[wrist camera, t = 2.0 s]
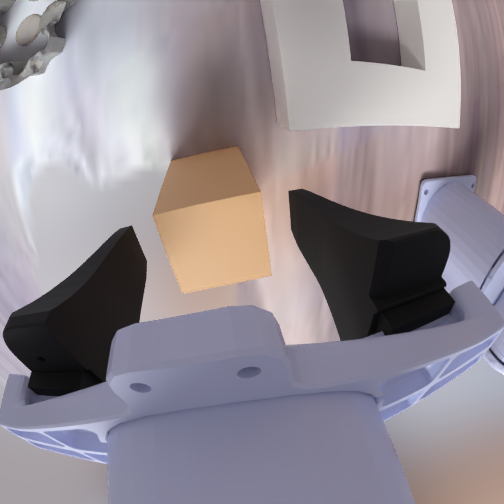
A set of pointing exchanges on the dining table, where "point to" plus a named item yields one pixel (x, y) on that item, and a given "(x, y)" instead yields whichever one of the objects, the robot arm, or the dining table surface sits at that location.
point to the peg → (212, 221)
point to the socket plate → (362, 67)
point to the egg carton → (26, 33)
